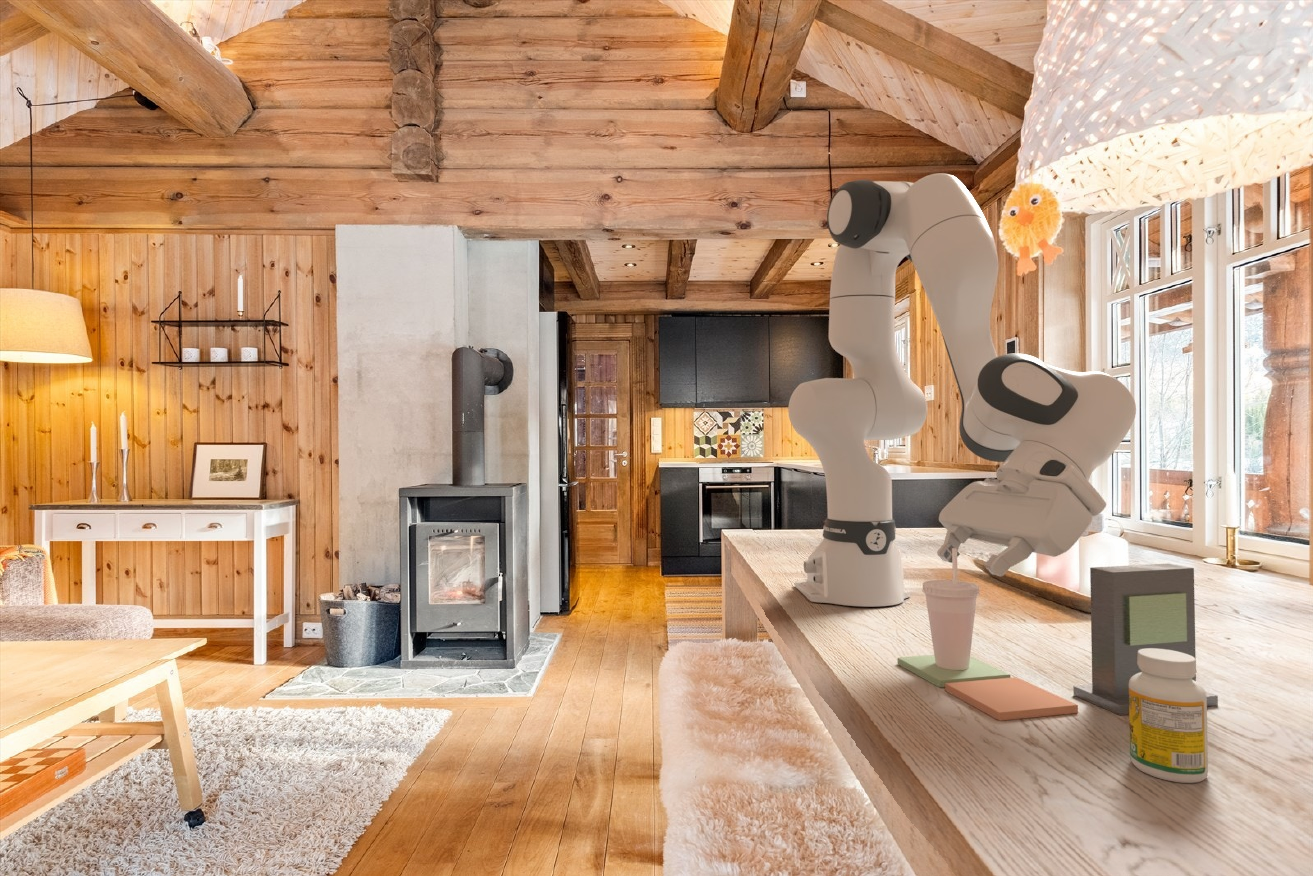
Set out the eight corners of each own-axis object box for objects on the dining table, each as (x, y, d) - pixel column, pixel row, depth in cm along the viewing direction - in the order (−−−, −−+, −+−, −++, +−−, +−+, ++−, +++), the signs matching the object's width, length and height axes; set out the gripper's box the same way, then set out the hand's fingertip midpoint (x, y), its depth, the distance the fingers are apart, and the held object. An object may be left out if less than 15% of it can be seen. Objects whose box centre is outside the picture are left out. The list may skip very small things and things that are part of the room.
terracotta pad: (945, 690, 80) (945, 683, 80) (1016, 684, 82) (1016, 677, 82) (999, 720, 71) (999, 712, 71) (1078, 712, 73) (1077, 705, 73)
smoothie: (987, 674, 83) (985, 552, 83) (929, 672, 84) (926, 551, 84) (973, 658, 89) (971, 545, 89) (919, 656, 90) (916, 544, 90)
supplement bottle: (1197, 791, 56) (1194, 668, 57) (1119, 768, 61) (1117, 653, 61) (1216, 771, 60) (1214, 655, 60) (1142, 750, 64) (1140, 642, 64)
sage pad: (897, 664, 90) (897, 657, 90) (962, 658, 92) (961, 652, 92) (940, 687, 81) (939, 680, 81) (1010, 681, 83) (1010, 674, 83)
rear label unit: (1073, 695, 78) (1071, 565, 78) (1166, 686, 81) (1163, 561, 81) (1119, 715, 72) (1117, 575, 72) (1217, 705, 75) (1215, 570, 75)
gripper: (967, 462, 99) (903, 536, 97) (1084, 467, 79) (1006, 560, 77) (996, 494, 100) (933, 567, 98) (1119, 507, 80) (1043, 600, 78)
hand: (966, 565), depth 87 cm, fingers open, 8 cm apart
